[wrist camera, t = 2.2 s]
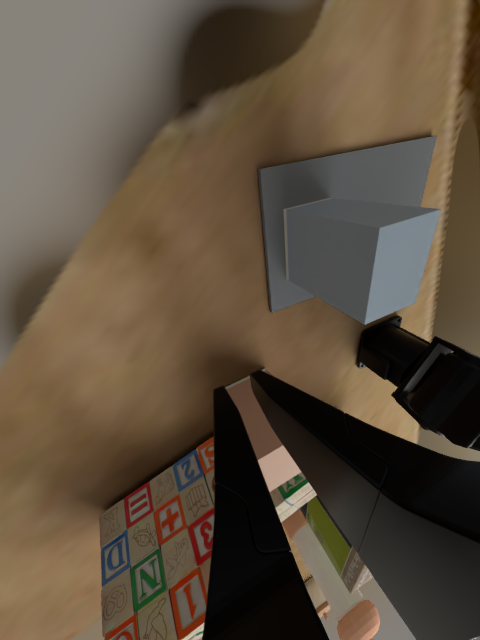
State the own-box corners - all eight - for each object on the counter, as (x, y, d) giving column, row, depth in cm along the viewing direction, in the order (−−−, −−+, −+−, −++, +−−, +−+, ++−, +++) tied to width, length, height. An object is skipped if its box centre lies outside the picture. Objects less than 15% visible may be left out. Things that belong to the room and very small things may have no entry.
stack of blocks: (261, 399, 29) (339, 515, 20) (275, 419, 34) (343, 522, 25) (97, 516, 27) (104, 704, 18) (134, 522, 31) (154, 676, 22)
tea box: (331, 465, 49) (401, 557, 37) (286, 489, 45) (348, 598, 34) (343, 413, 41) (437, 508, 29) (291, 437, 38) (372, 556, 26)
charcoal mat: (432, 136, 23) (436, 135, 23) (404, 261, 30) (407, 262, 29) (257, 169, 18) (260, 169, 18) (270, 310, 25) (272, 312, 24)
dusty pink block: (215, 391, 27) (254, 462, 19) (265, 368, 28) (318, 424, 21) (225, 421, 29) (264, 495, 21) (271, 397, 30) (322, 458, 23)
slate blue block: (329, 198, 21) (440, 209, 14) (326, 265, 24) (415, 302, 17) (283, 209, 20) (379, 228, 13) (286, 278, 23) (364, 325, 16)
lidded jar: (291, 595, 87) (307, 635, 79) (305, 578, 83) (324, 617, 76) (312, 584, 92) (330, 620, 85) (326, 567, 89) (346, 603, 81)
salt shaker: (316, 497, 53) (398, 626, 38) (295, 521, 55) (366, 654, 39) (296, 498, 49) (380, 643, 34) (274, 523, 50) (345, 674, 35)
